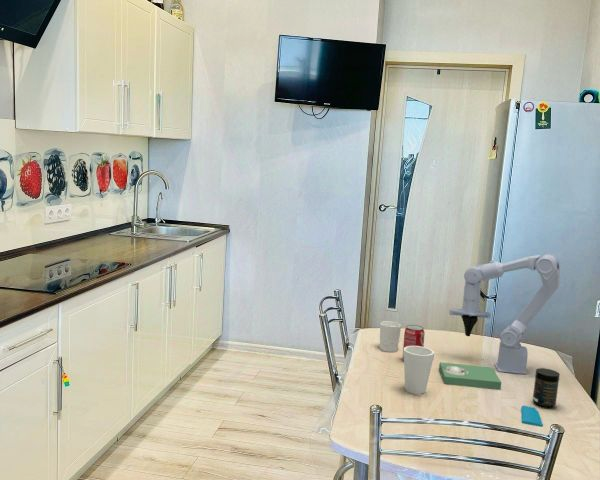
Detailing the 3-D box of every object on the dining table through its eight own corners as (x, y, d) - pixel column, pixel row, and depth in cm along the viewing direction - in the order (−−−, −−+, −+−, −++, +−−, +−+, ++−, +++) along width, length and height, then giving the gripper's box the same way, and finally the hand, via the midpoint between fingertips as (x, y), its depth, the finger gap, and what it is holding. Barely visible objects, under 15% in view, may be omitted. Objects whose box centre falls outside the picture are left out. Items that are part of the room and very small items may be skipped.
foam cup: (432, 387, 188) (435, 348, 186) (428, 398, 180) (432, 357, 178) (402, 382, 191) (406, 344, 189) (397, 392, 183) (401, 352, 181)
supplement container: (560, 408, 178) (564, 375, 177) (542, 410, 176) (546, 376, 175) (545, 399, 185) (549, 367, 183) (527, 400, 183) (531, 368, 181)
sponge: (542, 409, 175) (522, 403, 177) (543, 425, 164) (522, 418, 166) (541, 413, 176) (520, 407, 177) (542, 430, 164) (520, 423, 166)
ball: (449, 373, 201) (459, 369, 200) (453, 382, 198) (464, 377, 197) (445, 367, 199) (456, 362, 198) (450, 375, 195) (461, 370, 195)
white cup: (400, 353, 221) (402, 327, 219) (379, 351, 221) (381, 326, 219) (397, 346, 228) (399, 321, 227) (377, 345, 228) (379, 320, 227)
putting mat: (491, 374, 204) (492, 367, 204) (500, 389, 190) (501, 382, 190) (439, 369, 206) (439, 362, 206) (444, 383, 192) (444, 376, 192)
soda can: (422, 366, 208) (425, 330, 206) (401, 363, 209) (404, 328, 207) (422, 359, 215) (425, 325, 213) (402, 357, 216) (405, 323, 214)
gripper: (452, 300, 211) (448, 336, 213) (493, 303, 210) (489, 340, 212) (449, 295, 218) (446, 331, 220) (489, 299, 217) (486, 334, 219)
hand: (467, 335), depth 216 cm, fingers closed
